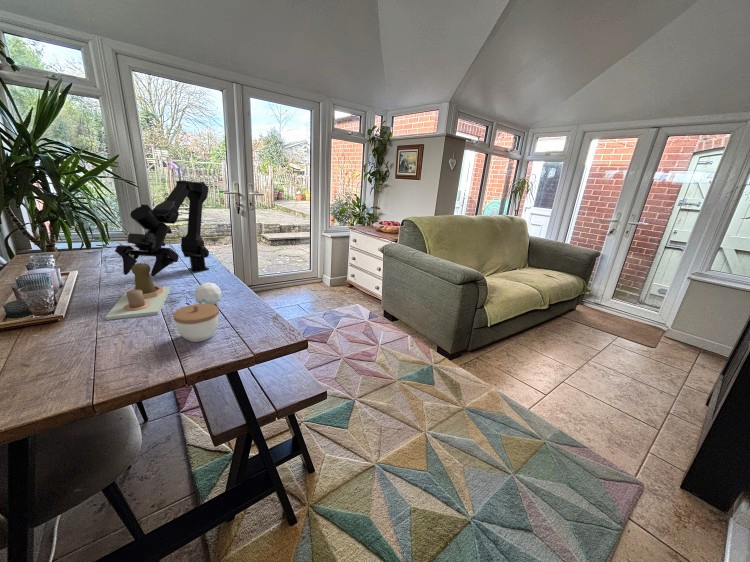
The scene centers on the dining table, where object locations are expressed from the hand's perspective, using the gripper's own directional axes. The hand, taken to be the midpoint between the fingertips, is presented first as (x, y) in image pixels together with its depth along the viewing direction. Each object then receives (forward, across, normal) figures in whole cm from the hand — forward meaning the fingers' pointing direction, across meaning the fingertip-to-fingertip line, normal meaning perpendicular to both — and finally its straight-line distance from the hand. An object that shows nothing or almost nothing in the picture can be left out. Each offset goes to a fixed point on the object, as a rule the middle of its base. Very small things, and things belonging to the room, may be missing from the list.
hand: (138, 275), depth 102 cm
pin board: (+9, +2, +3) cm, 10 cm away
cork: (+4, 0, +7) cm, 8 cm away
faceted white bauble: (+9, +25, +4) cm, 27 cm away
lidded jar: (+22, +33, -10) cm, 41 cm away
